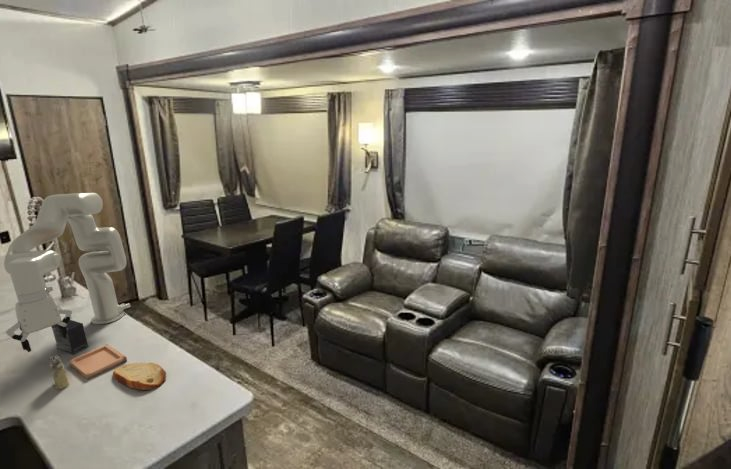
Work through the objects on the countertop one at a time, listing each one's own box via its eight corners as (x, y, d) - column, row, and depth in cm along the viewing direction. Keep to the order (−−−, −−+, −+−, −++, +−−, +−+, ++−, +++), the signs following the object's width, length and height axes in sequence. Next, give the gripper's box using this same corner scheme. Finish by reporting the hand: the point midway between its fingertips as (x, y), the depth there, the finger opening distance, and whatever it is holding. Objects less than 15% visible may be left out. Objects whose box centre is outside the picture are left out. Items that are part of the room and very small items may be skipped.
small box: (90, 346, 158) (83, 322, 155) (72, 354, 152) (66, 330, 149) (74, 340, 162) (67, 317, 159) (56, 349, 156) (49, 325, 153)
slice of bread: (114, 371, 142) (112, 362, 140) (169, 359, 148) (167, 350, 146) (102, 403, 125) (99, 393, 124) (164, 388, 131) (162, 378, 130)
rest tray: (107, 347, 156) (106, 343, 155) (127, 360, 147) (126, 356, 146) (69, 364, 146) (68, 360, 145) (87, 379, 137) (86, 375, 136)
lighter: (70, 386, 134) (62, 360, 131) (56, 391, 131) (48, 365, 128) (66, 377, 138) (58, 352, 136) (52, 382, 136) (45, 357, 133)
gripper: (60, 284, 134) (72, 329, 138) (-7, 303, 120) (9, 352, 125) (69, 288, 130) (81, 335, 134) (1, 309, 116) (17, 359, 121)
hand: (46, 343), depth 130 cm, fingers open, 9 cm apart
